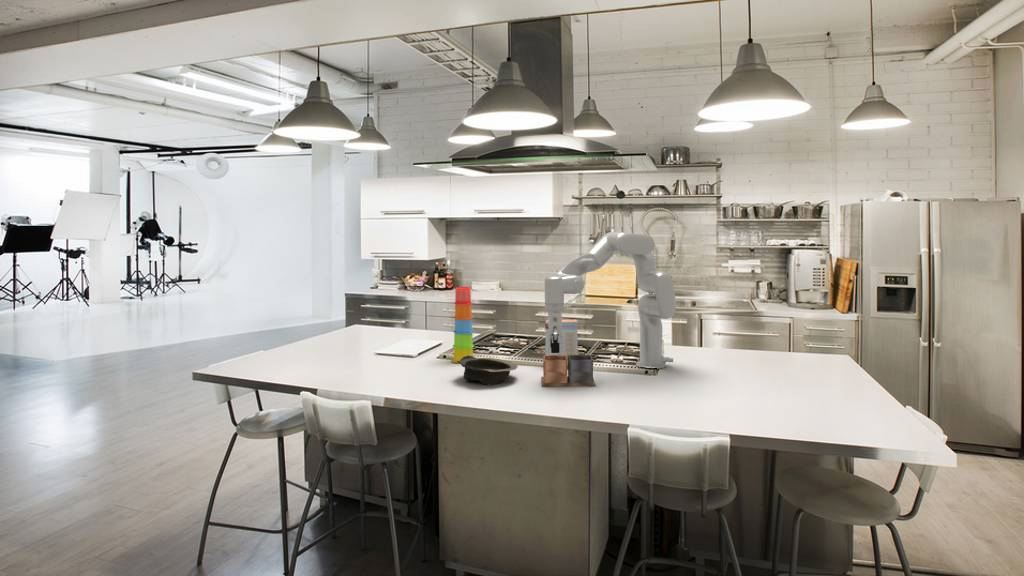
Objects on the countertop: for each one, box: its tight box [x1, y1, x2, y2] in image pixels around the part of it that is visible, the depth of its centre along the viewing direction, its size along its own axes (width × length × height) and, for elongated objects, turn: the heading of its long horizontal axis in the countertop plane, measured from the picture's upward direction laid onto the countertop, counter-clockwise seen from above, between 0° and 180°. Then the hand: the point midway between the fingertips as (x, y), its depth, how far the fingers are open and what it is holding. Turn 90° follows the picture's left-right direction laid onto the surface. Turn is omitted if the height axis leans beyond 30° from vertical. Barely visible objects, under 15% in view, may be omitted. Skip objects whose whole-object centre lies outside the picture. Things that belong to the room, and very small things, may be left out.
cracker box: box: [544, 319, 579, 369], centre depth 267 cm, size 14×6×21 cm, turn 84°
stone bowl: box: [456, 355, 519, 386], centre depth 249 cm, size 25×25×9 cm
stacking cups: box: [452, 286, 475, 364], centre depth 281 cm, size 10×10×35 cm
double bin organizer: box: [540, 354, 597, 388], centre depth 242 cm, size 21×11×10 cm, turn 88°
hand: (554, 350), depth 241 cm, fingers open, 9 cm apart
